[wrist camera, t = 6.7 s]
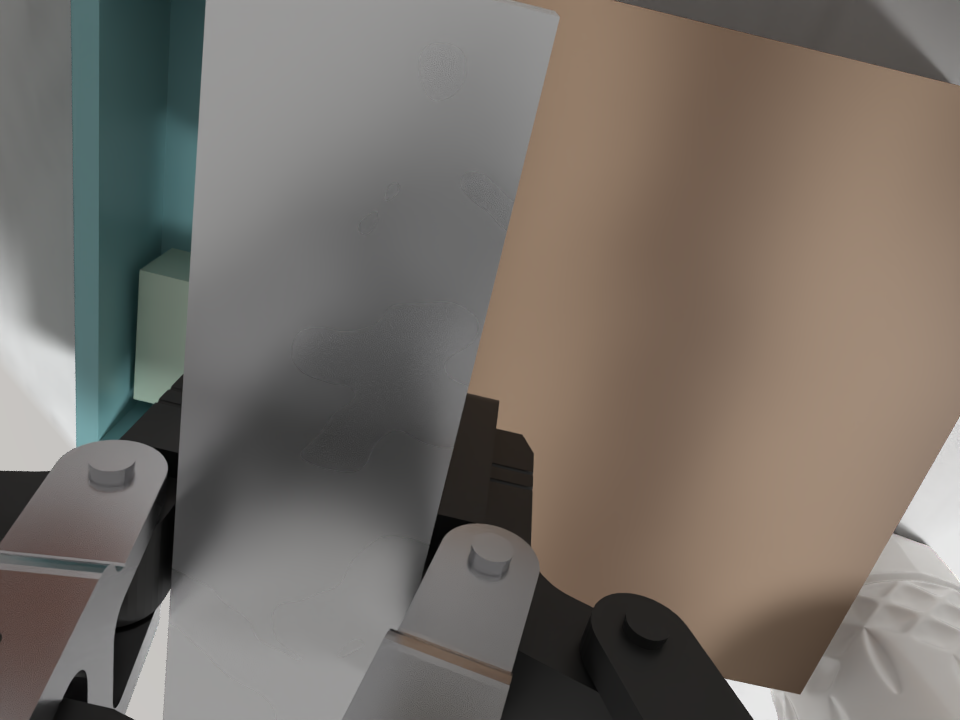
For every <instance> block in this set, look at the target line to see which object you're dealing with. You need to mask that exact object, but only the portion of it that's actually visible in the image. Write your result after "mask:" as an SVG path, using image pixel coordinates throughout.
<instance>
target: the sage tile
mask: <svg viewBox="0 0 960 720" xmlns="http://www.w3.org/2000/svg"><path fill="white" fill-rule="evenodd" d="M190 258H191V252H187V251H183V250H179V249H175V248H171V249H170V250H168V251H167V252H165V253H164V254H162V255H161V256H159V257H158V258H156V259H155V260H153V261H152V262H150V263H149V264H148V265H146V266H145V267H143V268H142V269H140V272H139V293H138V314H137V336H136V357H135V378H134V399H136V400H140V401H144V402H148V403H153V404H154V403H155V402H157V403H158V400H159V398H160V397H161V396H162V395H163V394H164V393H165V392H166V391H167V390H170V389H171V386H172V385H173V384H174V383H175V382H176V381H177V380H178V379H179V378H180V377H181V376H182V375H183V374H184V359H185V342H186V325H187V308H188V292H189V275H190Z"/></svg>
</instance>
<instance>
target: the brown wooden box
mask: <svg viewBox="0 0 960 720" xmlns="http://www.w3.org/2000/svg"><path fill="white" fill-rule="evenodd" d="M513 1H517V2H521V3H525V4H529V5H533V6H537V7H541V8H545V9H549V10H553V11H555V12H556V13H557V14H558V15H559V17H560V19H559V23H558V27H557V31H556V35H555V39H554V43H553V47H552V51H551V55H550V59H549V63H548V67H547V71H546V75H545V80H544V84H543V88H542V92H541V96H540V100H539V104H538V108H537V112H536V116H535V120H534V124H533V128H532V132H531V136H530V140H529V144H528V148H527V152H526V156H525V160H524V164H523V169H522V173H521V177H520V181H519V185H518V189H517V193H516V197H515V201H514V205H513V209H512V213H511V217H510V221H509V225H508V229H507V233H506V237H505V241H504V245H503V249H502V254H501V258H500V262H499V266H498V270H497V274H496V278H495V282H494V286H493V290H492V294H491V298H490V302H489V306H488V310H487V314H486V318H485V322H484V326H483V330H482V334H481V338H480V343H479V347H478V351H477V355H476V359H475V363H474V367H473V371H472V375H471V379H470V383H469V387H468V391H467V393H470V394H474V395H478V396H483V397H487V398H491V399H495V400H499V410H498V418H497V426H496V428H497V429H501V430H505V431H509V432H514V433H518V434H522V435H523V436H524V438H525V439H526V441H527V443H528V444H529V446H530V448H531V449H532V451H533V453H534V468H533V489H532V491H533V499H532V531H531V548H532V549H533V550H534V552H535V554H536V556H537V558H538V561H539V566H540V572H541V574H542V575H543V576H544V577H545V578H546V579H547V580H548V581H549V582H550V583H551V584H552V585H554V586H555V587H556V588H558V589H559V590H561V591H562V592H564V593H565V594H567V595H569V596H571V597H573V598H575V599H577V600H579V601H581V602H583V603H585V604H587V605H589V606H591V607H593V608H594V606H595V604H596V603H597V602H598V601H599V600H600V599H602V598H603V597H605V596H608V595H610V594H615V593H632V594H638V595H642V596H645V597H648V598H650V599H653V600H655V601H657V602H659V603H661V604H663V605H664V606H666V607H667V608H669V609H670V610H671V611H673V612H674V613H675V614H677V615H678V616H679V617H680V618H681V619H682V620H683V621H684V623H685V624H686V625H687V626H688V628H689V629H690V630H691V632H692V633H693V635H694V636H695V638H696V639H697V640H698V642H699V643H700V645H701V646H702V647H703V649H704V650H705V652H706V653H707V655H708V656H709V657H710V659H711V660H712V662H713V663H714V664H715V666H716V667H717V669H718V670H719V672H720V673H721V674H722V676H723V677H724V678H725V679H730V680H734V681H739V682H744V683H748V684H753V685H758V686H762V687H767V688H772V689H776V690H781V691H785V692H790V693H795V694H799V695H800V694H801V693H802V691H803V689H804V687H805V686H806V684H807V682H808V680H809V679H810V677H811V675H812V674H813V672H814V670H815V668H816V667H817V665H818V663H819V661H820V660H821V658H822V656H823V654H824V653H825V651H826V649H827V647H828V646H829V644H830V642H831V640H832V639H833V637H834V635H835V633H836V632H837V630H838V628H839V626H840V625H841V623H842V621H843V619H844V618H845V616H846V614H847V612H848V611H849V609H850V607H851V605H852V604H853V602H854V600H855V598H856V597H857V595H858V593H859V591H860V590H861V588H862V586H863V584H864V583H865V581H866V579H867V577H868V576H869V574H870V572H871V571H872V569H873V567H874V565H875V564H876V562H877V560H878V558H879V557H880V555H881V553H882V551H883V550H884V548H885V546H886V544H887V543H888V541H889V539H890V537H891V536H892V534H893V532H894V530H895V529H896V527H897V525H898V523H899V522H900V520H901V518H902V516H903V515H904V513H905V511H906V509H907V508H908V506H909V504H910V502H911V501H912V499H913V497H914V495H915V494H916V492H917V490H918V488H919V487H920V485H921V483H922V481H923V480H924V478H925V476H926V474H927V473H928V471H929V469H930V467H931V466H932V464H933V462H934V461H935V459H936V457H937V455H938V454H939V452H940V450H941V448H942V447H943V445H944V443H945V441H946V440H947V438H948V436H949V434H950V433H951V431H952V429H953V427H954V426H955V424H956V422H957V420H958V419H959V417H960V86H959V85H955V84H950V83H946V82H942V81H938V80H934V79H930V78H926V77H922V76H918V75H914V74H910V73H906V72H902V71H898V70H894V69H890V68H886V67H882V66H878V65H874V64H869V63H865V62H861V61H857V60H853V59H849V58H845V57H841V56H837V55H833V54H829V53H825V52H821V51H817V50H813V49H809V48H805V47H801V46H797V45H792V44H788V43H784V42H780V41H776V40H772V39H768V38H764V37H760V36H756V35H752V34H748V33H744V32H740V31H736V30H732V29H728V28H724V27H720V26H716V25H711V24H707V23H703V22H699V21H695V20H691V19H687V18H683V17H679V16H675V15H671V14H667V13H663V12H659V11H655V10H651V9H647V8H643V7H639V6H634V5H630V4H626V3H622V2H618V1H614V0H513Z"/></svg>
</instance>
